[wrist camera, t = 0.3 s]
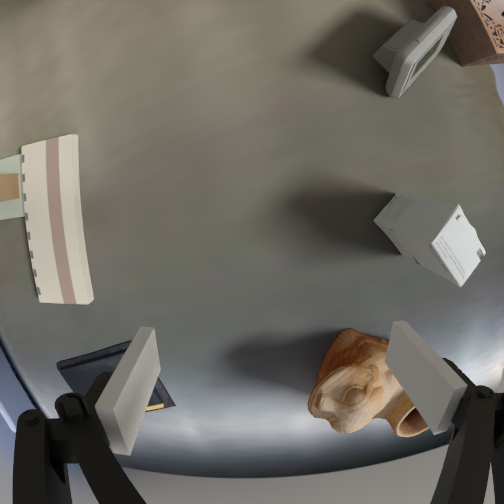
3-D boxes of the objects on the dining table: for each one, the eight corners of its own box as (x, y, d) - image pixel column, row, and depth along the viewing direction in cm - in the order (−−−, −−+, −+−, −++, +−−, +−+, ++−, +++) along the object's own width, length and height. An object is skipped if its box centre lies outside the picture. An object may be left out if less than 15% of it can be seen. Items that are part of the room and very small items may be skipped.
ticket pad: (28, 146, 38) (21, 146, 36) (78, 135, 38) (71, 134, 36) (45, 297, 44) (39, 302, 42) (94, 299, 44) (88, 304, 42)
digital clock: (387, 104, 39) (424, 88, 28) (350, 54, 37) (378, 26, 26) (448, 64, 37) (487, 48, 26) (416, 20, 35) (449, -4, 24)
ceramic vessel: (315, 313, 46) (344, 370, 31) (438, 343, 49) (482, 386, 34) (283, 384, 49) (296, 450, 34) (403, 401, 52) (435, 451, 37)
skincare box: (371, 220, 43) (426, 242, 28) (397, 190, 42) (458, 201, 27) (404, 257, 44) (460, 291, 30) (427, 229, 43) (489, 252, 29)
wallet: (134, 342, 45) (176, 412, 48) (138, 336, 46) (178, 405, 50) (49, 364, 46) (91, 424, 49) (54, 358, 47) (94, 418, 51)
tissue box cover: (501, 4, 32) (528, -8, 22) (528, 62, 35) (558, 55, 26) (425, -3, 33) (454, -26, 24) (461, 66, 37) (496, 53, 27)
